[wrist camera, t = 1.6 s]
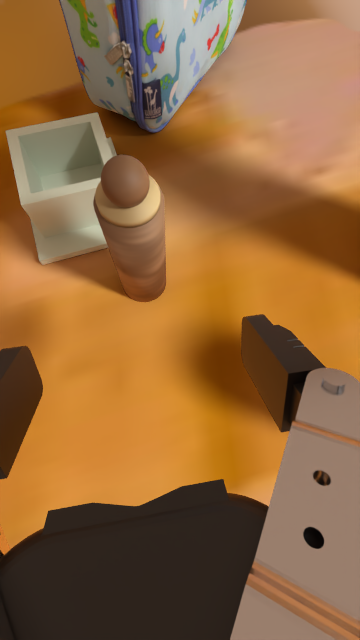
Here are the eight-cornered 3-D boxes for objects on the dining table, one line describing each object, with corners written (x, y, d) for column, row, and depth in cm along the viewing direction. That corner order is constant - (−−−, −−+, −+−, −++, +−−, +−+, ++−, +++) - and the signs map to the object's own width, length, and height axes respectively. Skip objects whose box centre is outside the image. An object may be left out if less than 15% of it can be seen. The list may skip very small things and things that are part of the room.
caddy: (112, 143, 35) (101, 93, 29) (144, 237, 31) (139, 200, 26) (20, 163, 34) (-9, 114, 28) (42, 264, 30) (13, 231, 24)
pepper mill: (158, 257, 31) (149, 123, 16) (171, 294, 29) (174, 185, 15) (117, 268, 30) (71, 140, 16) (129, 307, 29) (90, 206, 14)
